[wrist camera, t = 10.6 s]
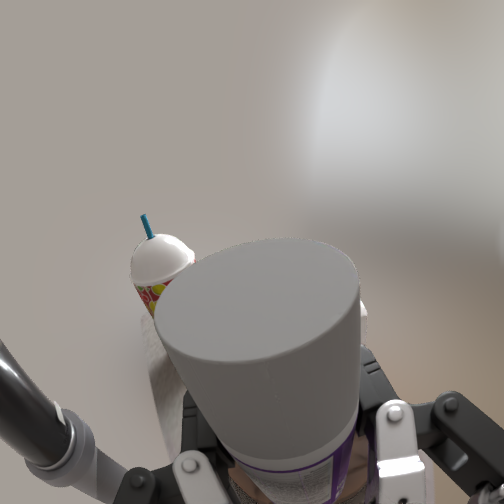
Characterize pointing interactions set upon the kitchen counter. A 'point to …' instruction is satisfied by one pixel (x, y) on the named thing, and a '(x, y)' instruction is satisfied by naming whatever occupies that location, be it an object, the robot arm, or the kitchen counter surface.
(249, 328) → the container
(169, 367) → the kitchen counter surface
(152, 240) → the smoothie
